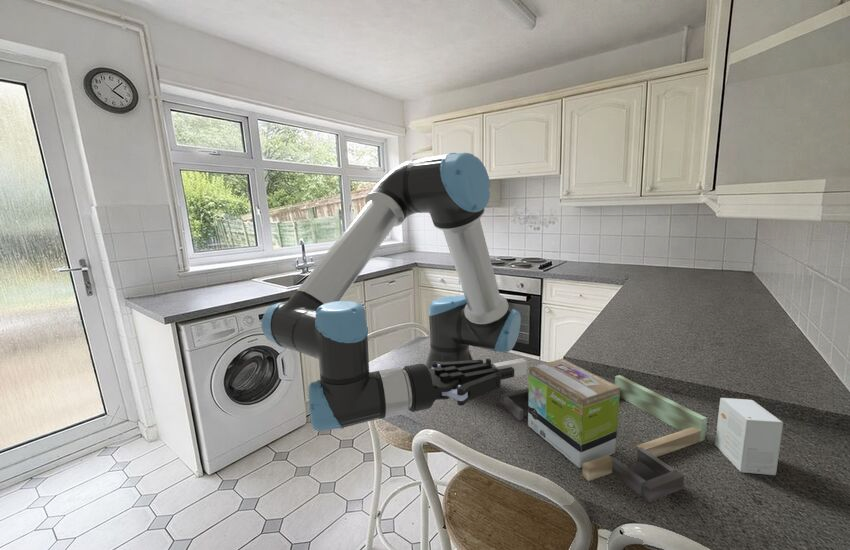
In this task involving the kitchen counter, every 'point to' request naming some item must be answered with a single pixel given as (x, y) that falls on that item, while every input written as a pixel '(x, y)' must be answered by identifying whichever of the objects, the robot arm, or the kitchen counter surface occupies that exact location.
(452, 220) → the robot arm
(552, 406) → the tea box
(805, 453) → the kitchen counter surface
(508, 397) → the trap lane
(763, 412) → the small box
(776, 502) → the kitchen counter surface
